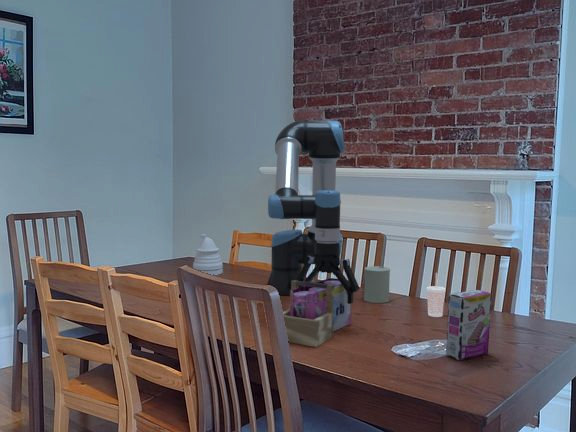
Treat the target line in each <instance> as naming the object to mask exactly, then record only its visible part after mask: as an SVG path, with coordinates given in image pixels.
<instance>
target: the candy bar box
mask: <svg viewBox="0 0 576 432" xmlns="http://www.w3.org/2000/svg"><path fill="white" fill-rule="evenodd" d="M491 306H492V293H490V292H488V291H483V290H479V289H474V290H469V291H461V292H454V293H449V294H448V307H447V308H448V309H447V311H448V312H447V328H446V329H447V331H446V350H445V356H446V357H449V358H451V359H454V360H456V361H462V360H463V361H464V360H467V359H471V358H475V357H479V356H483V355H487V354H488V353H489V343H490V342H489V341H490V326H491V325H490V321H491Z"/></svg>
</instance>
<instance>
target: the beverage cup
mask: <svg viewBox="0 0 576 432" xmlns="http://www.w3.org/2000/svg"><path fill="white" fill-rule="evenodd" d="M445 293H446V288H445V287H443V286H438V272H435V285H434V286H433V285H431V286H427V287H426V294H427V296H426V297H427V314H428V315H427V316H429V317H432V318H441V317H443V313H444V302H445Z"/></svg>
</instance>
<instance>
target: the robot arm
mask: <svg viewBox="0 0 576 432" xmlns="http://www.w3.org/2000/svg"><path fill="white" fill-rule="evenodd" d="M277 135H278V136H276V139H275V144H274V151H275V154H276V155H277V156H276V158H277V159H276V172H275V173H276V175H275V190H274V193H275V194H270V195H268V199H267V202H268V203H267V216H268V217H269V218H270V219H275V220H276V219H279V220H301V219H302V220H311V225H310V227H308V228H307V233H304V232H303V230H302V229H289V230H281V231H278V232H275V233H273V234H272V236H271V244H270V247H271V267H270V269H271V272H270V275H269V278H268V281H267V283H266V286H267V285H271V286H273V287H275V288H276V289H277V290H278V292H279V294H280V296H290V290H291V281H293V280H297V281H304V282H312V281H313V280H314V278H315V277H316V276H317V275H318V274H319V273H327V274H332V275H334V276H335V277H336V279H338V280H339V281H340V283H341V284H342V286H343V287H344V288H345V290H346V291H347V292H346V293H345V295H344V315H348V314H350V304H351V305H352V304H353V302H354V292H355V293H356V292H358V291H360V286H359V283H358V280H357V279H356V276H355V274H354V272H353V269H352V267H351V261H350V258H345V259H341V255H342V254H341V252H342V248H343V246H342V245H343V234H342V233H341V203H342V201H341V192H340V191H339V190H336V185H337V184H336V183H337V182H336V180H337V179H336V178H337V177H336V176H337V175H336V173H337V172H336V171H337V161H339V160H340V159H341V154H343V153H345V141H344V140H345V139H344V132H343V127H342V124H341V122H340V121H338V120H329V119H326V120H325V119H324V120H320V119H319V120H302V119H301V120H295V121H293V122H291V123H288V124H287V125H286V126H285V127H284V128H283V129H282V130H280V132H279V133H278V134H277ZM302 153H303V154H304V153H305V154H306V153H308V159H309V160H310V161H311V162H312V181H311V182H312V187H311V188H312V189H311V191H312V194H310V195H309V194H304V195H303V194H299V177H300V175H299V171H300V170H299V167H300V165H299V163H300V161H299V160H300V159H299V158H300V155H301V154H302ZM302 265H303V266H302ZM311 265H315V267H314V268H313V269H312V271H311V272H310V273H309V274H308V272H309V270H310V267H311ZM340 265H341V267H342V268H343V271H344V273H345V275H344V274H343V272H342V269H341V268H340V267H339V266H340ZM307 274H308V275H307ZM306 276H307V277H306ZM345 276H346V277H345ZM348 280H349V282H348ZM299 287H302V286H301V285H298V288H299Z"/></svg>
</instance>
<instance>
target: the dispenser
mask: <svg viewBox="0 0 576 432" xmlns="http://www.w3.org/2000/svg"><path fill="white" fill-rule="evenodd" d="M298 285H301V286H309V287H318V288H326V289H327V313H326V314H324V315H322V316H320V317H318V318H316V319H314V320H313V319H306V318H300V317H293V316H290V308H287V309H285V310H283V311H282V312H283V316H284V321H285V326H286V331H287V335H288V339H289V342H288V343H291V344H296V345H303V346H308V347H314V348H317V347H319V346H321V345H322V344H323V343H325V342H326V341H329V340H330V339H332V338H333V337H334V331H333V327H334V285H331V284H321V283H316V282H312V281H311V282H304V281H297V280H293V281H291V290H293V289H295V288H298Z"/></svg>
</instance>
